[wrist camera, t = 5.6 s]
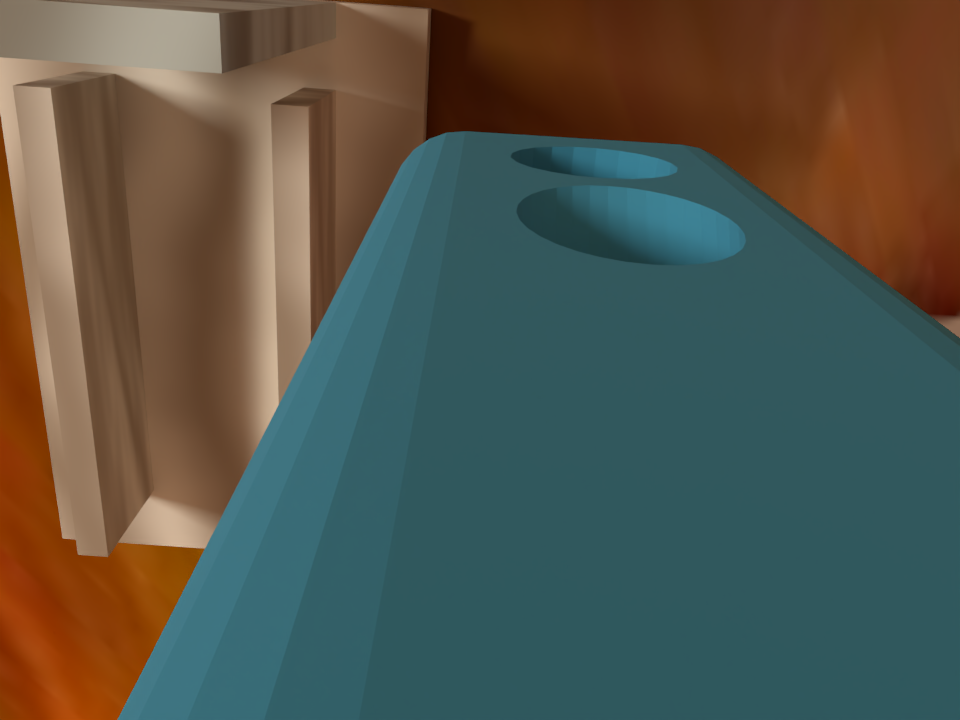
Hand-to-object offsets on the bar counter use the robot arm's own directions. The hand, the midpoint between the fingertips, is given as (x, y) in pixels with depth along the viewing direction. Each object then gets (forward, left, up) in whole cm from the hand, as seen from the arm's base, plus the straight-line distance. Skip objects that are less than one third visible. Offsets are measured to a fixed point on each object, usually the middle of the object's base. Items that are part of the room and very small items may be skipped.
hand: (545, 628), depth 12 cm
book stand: (+12, +5, -26) cm, 29 cm away
